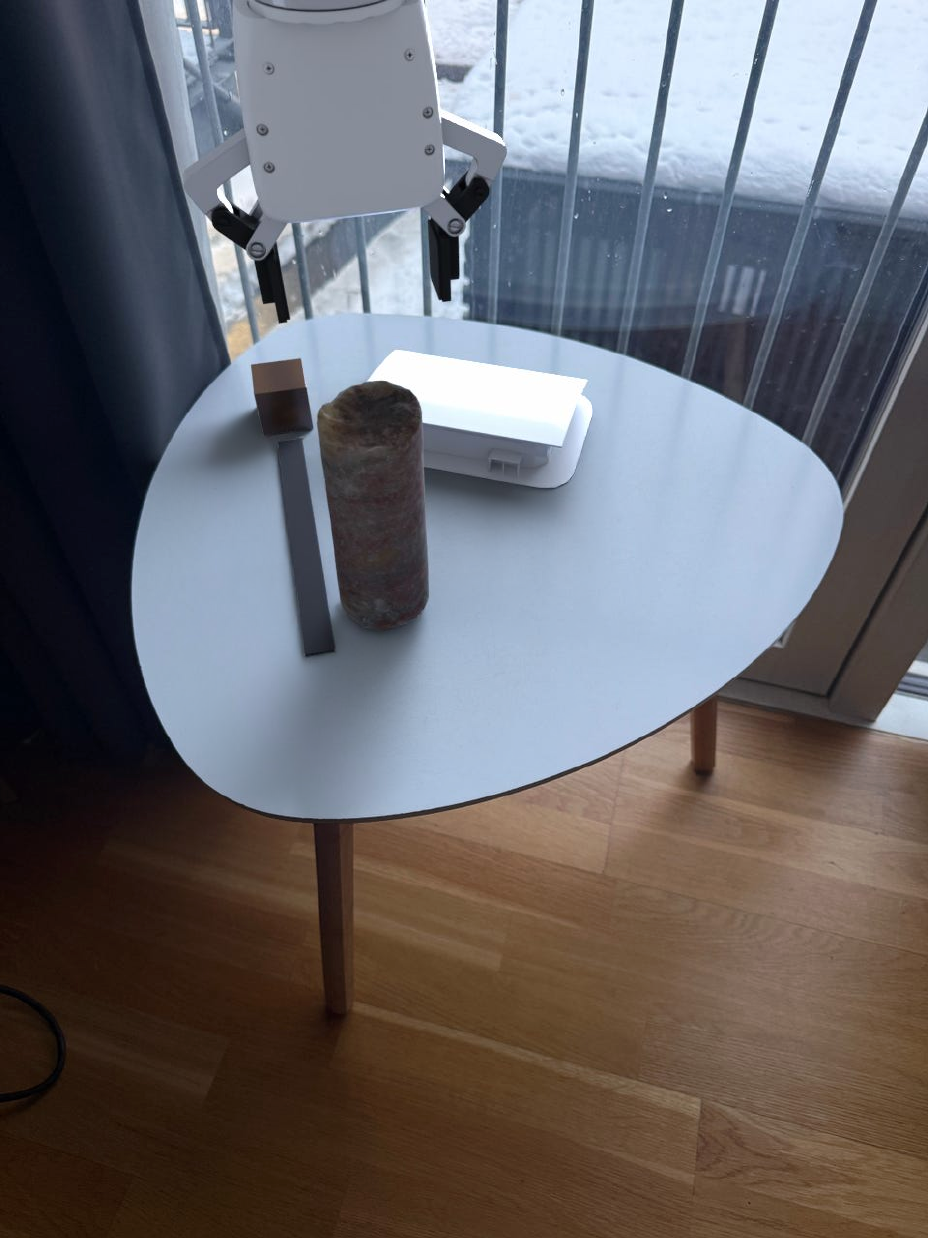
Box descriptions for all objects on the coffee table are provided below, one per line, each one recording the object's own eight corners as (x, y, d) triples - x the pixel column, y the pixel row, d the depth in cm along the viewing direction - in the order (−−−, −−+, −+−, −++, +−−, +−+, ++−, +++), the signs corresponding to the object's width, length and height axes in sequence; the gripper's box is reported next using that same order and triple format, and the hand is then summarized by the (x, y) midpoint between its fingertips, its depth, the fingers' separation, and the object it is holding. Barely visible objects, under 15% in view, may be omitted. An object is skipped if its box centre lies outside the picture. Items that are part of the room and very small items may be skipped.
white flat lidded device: (568, 493, 84) (571, 460, 81) (336, 451, 88) (331, 418, 85) (597, 395, 94) (602, 363, 91) (386, 361, 98) (384, 329, 95)
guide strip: (305, 656, 72) (304, 654, 72) (277, 443, 89) (277, 441, 89) (335, 651, 73) (334, 649, 72) (302, 440, 90) (301, 437, 89)
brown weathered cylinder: (448, 614, 75) (442, 417, 60) (372, 654, 72) (345, 459, 57) (400, 559, 79) (382, 362, 64) (326, 595, 76) (289, 398, 61)
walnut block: (263, 436, 90) (254, 394, 86) (260, 405, 93) (250, 364, 89) (313, 429, 91) (306, 387, 87) (308, 399, 94) (301, 357, 90)
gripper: (489, -76, 45) (488, 252, 58) (133, -48, 43) (215, 286, 56) (528, -30, 40) (517, 315, 54) (130, 4, 38) (220, 355, 51)
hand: (362, 300), depth 55 cm, fingers open, 9 cm apart
